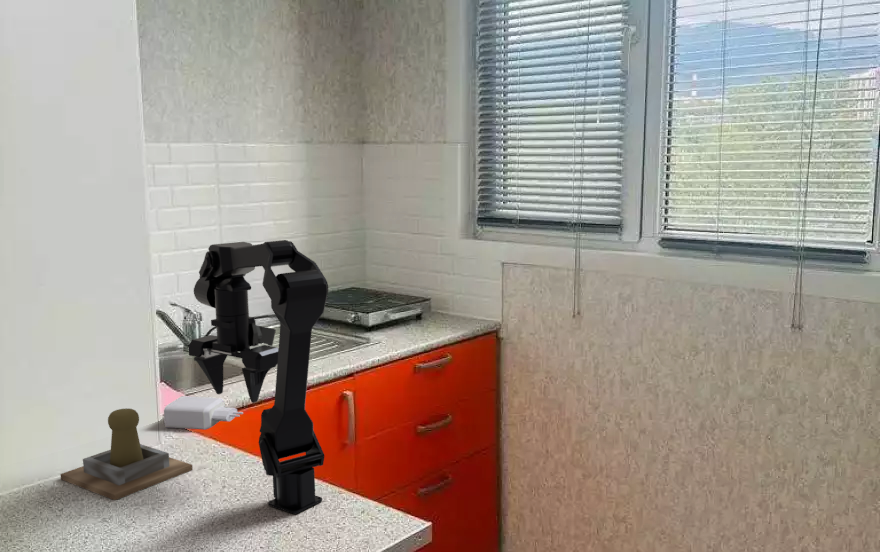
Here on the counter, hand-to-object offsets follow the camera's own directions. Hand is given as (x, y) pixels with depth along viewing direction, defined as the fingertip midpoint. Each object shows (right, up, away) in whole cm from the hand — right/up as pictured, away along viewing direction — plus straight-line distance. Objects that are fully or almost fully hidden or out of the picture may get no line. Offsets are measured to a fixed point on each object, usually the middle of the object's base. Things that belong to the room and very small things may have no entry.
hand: (236, 397), depth 158 cm
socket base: (-19, -14, -1) cm, 24 cm away
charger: (-12, -9, +27) cm, 31 cm away
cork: (-19, -13, -1) cm, 23 cm away
